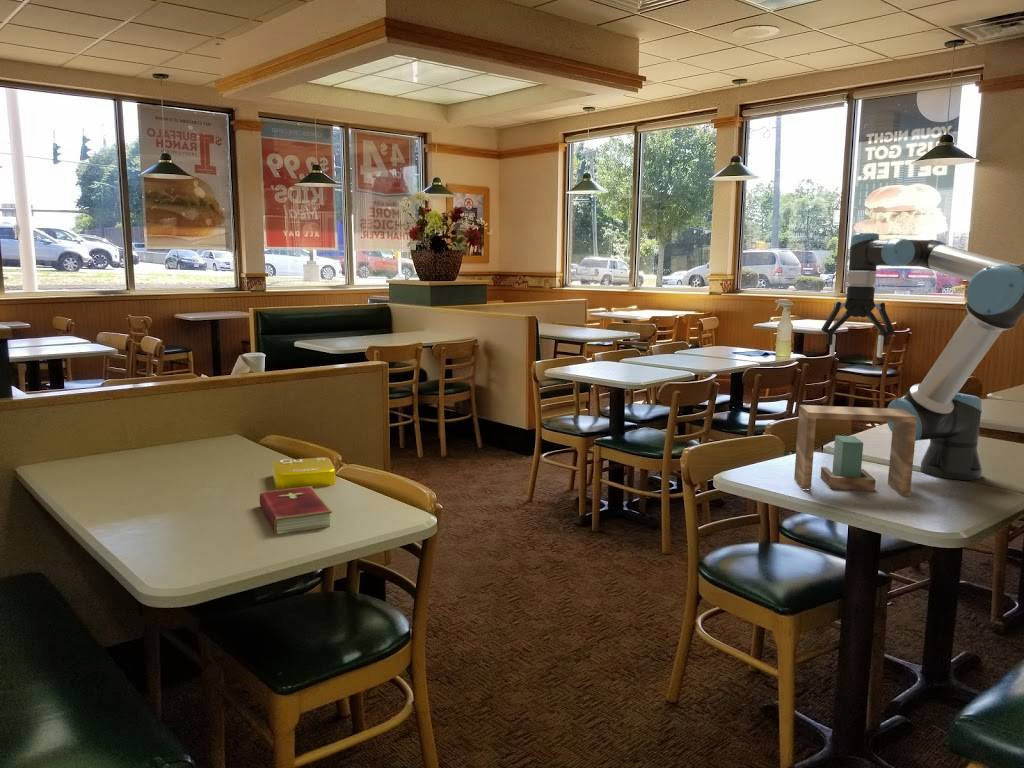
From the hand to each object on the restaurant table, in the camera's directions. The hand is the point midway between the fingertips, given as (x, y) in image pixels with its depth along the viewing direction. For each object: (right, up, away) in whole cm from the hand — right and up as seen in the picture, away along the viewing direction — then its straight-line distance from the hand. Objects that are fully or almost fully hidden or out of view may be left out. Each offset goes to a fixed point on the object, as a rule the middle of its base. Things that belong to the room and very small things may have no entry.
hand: (855, 356), depth 233 cm
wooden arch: (-15, -35, -29) cm, 48 cm away
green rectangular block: (-14, -35, -26) cm, 46 cm away
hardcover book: (-153, -39, -60) cm, 169 cm away
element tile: (-159, -34, -30) cm, 165 cm away
